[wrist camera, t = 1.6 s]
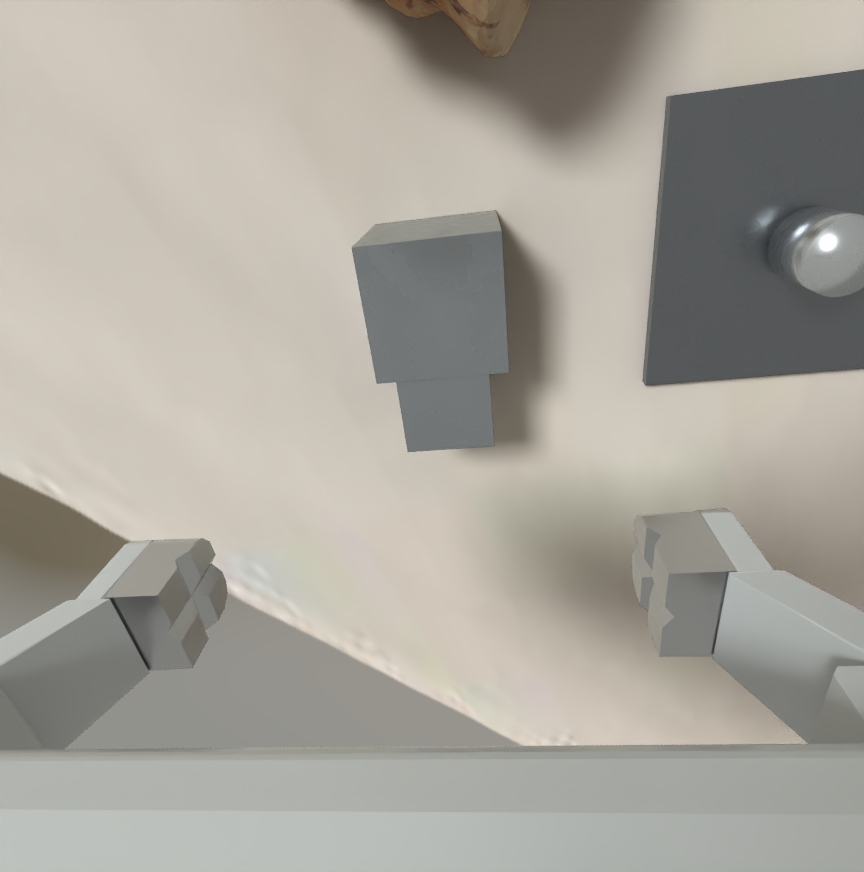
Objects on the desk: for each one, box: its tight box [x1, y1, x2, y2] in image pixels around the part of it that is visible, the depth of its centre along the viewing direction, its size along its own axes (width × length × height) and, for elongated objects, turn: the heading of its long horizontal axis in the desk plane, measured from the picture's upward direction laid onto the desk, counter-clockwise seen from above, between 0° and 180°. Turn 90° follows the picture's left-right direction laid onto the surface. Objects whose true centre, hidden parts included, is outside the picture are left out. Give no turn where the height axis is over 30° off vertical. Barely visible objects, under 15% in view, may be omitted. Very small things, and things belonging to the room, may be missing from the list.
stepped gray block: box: [352, 210, 509, 452], centre depth 27 cm, size 10×6×6 cm, turn 7°
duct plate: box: [643, 70, 864, 385], centre depth 25 cm, size 14×14×4 cm
